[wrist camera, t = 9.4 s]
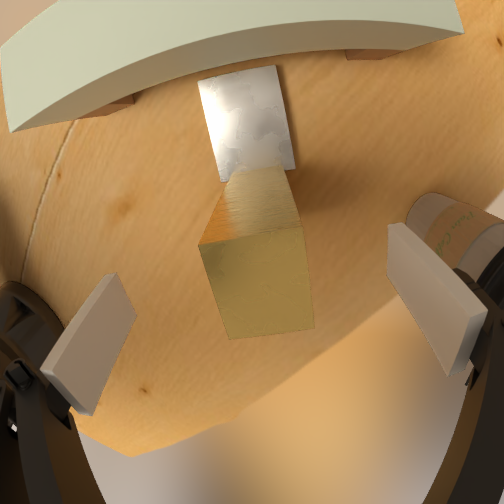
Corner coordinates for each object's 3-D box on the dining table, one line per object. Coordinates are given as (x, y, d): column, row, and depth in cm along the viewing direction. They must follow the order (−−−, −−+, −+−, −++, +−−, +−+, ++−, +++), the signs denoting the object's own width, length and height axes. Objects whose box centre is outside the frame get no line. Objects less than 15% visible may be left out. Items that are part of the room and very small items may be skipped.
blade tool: (234, 227, 26) (209, 341, 13) (200, 82, 20) (121, 52, 8) (302, 216, 25) (336, 324, 13) (274, 67, 19) (289, 7, 7)
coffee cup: (400, 167, 22) (517, 239, 9) (473, 183, 22) (578, 251, 9) (380, 260, 27) (448, 377, 13) (450, 264, 27) (524, 357, 13)
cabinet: (106, 115, 21) (9, 133, 10) (93, 50, 18) (-1, 35, 7) (380, 59, 18) (464, 33, 7) (361, -10, 15) (422, -70, 4)
